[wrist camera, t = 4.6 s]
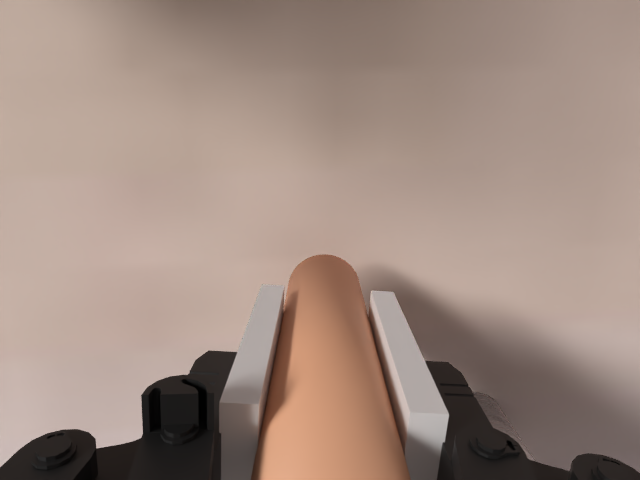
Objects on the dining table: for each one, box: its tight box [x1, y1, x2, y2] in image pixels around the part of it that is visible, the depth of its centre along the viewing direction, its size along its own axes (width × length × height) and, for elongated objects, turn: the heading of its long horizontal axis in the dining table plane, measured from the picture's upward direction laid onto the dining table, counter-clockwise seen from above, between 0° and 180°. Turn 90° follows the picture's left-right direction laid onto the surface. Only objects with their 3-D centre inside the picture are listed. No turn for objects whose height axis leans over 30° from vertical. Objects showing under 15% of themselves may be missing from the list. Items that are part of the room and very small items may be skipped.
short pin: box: [473, 393, 535, 461], centre depth 20 cm, size 3×3×6 cm
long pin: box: [251, 255, 411, 480], centre depth 12 cm, size 3×3×14 cm
